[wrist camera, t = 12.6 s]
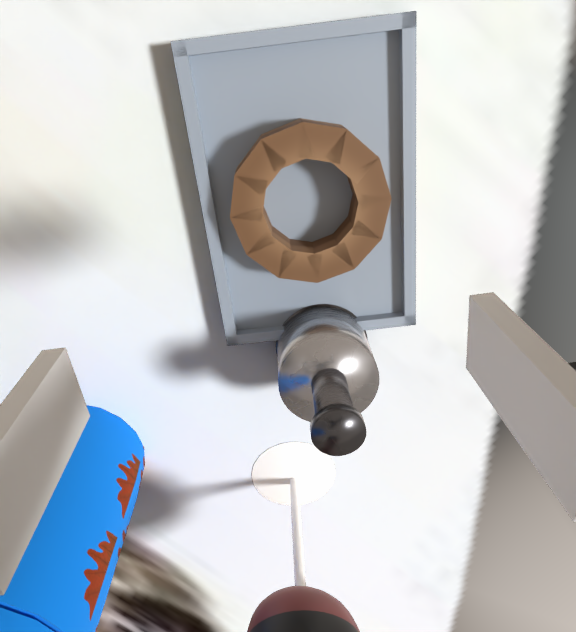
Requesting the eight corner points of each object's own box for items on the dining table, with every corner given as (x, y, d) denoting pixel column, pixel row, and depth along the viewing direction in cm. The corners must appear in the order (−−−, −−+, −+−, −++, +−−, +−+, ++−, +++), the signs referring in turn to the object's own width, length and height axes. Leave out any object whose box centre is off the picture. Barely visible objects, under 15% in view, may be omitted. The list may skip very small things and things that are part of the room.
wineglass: (281, 423, 43) (290, 678, 25) (359, 468, 45) (418, 730, 27) (228, 481, 45) (201, 750, 27) (304, 521, 48) (326, 791, 30)
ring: (204, 211, 34) (200, 221, 32) (297, 85, 31) (299, 86, 28) (316, 293, 37) (319, 308, 35) (411, 186, 34) (421, 194, 31)
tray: (229, 335, 39) (227, 345, 38) (175, 42, 30) (170, 41, 29) (410, 315, 39) (415, 324, 37) (409, 13, 30) (416, 10, 28)
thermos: (-2, 467, 44) (-286, 884, 21) (49, 380, 40) (-229, 774, 18) (113, 516, 47) (-30, 927, 24) (170, 439, 43) (63, 840, 21)
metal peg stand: (257, 347, 39) (253, 443, 29) (315, 281, 37) (332, 361, 27) (325, 392, 42) (343, 497, 31) (383, 333, 39) (423, 425, 29)
